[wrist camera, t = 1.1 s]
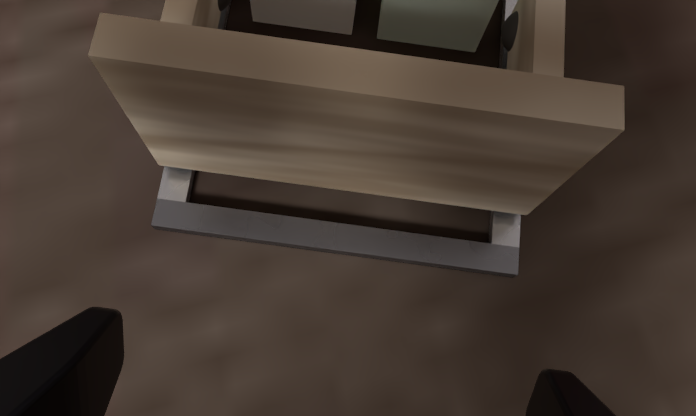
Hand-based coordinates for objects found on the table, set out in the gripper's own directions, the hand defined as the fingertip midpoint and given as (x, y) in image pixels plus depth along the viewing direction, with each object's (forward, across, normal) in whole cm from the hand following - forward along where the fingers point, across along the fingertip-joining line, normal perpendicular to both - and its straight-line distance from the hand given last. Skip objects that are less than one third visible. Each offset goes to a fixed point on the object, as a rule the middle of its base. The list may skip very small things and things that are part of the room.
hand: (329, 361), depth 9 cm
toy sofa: (+16, 0, +2) cm, 16 cm away
